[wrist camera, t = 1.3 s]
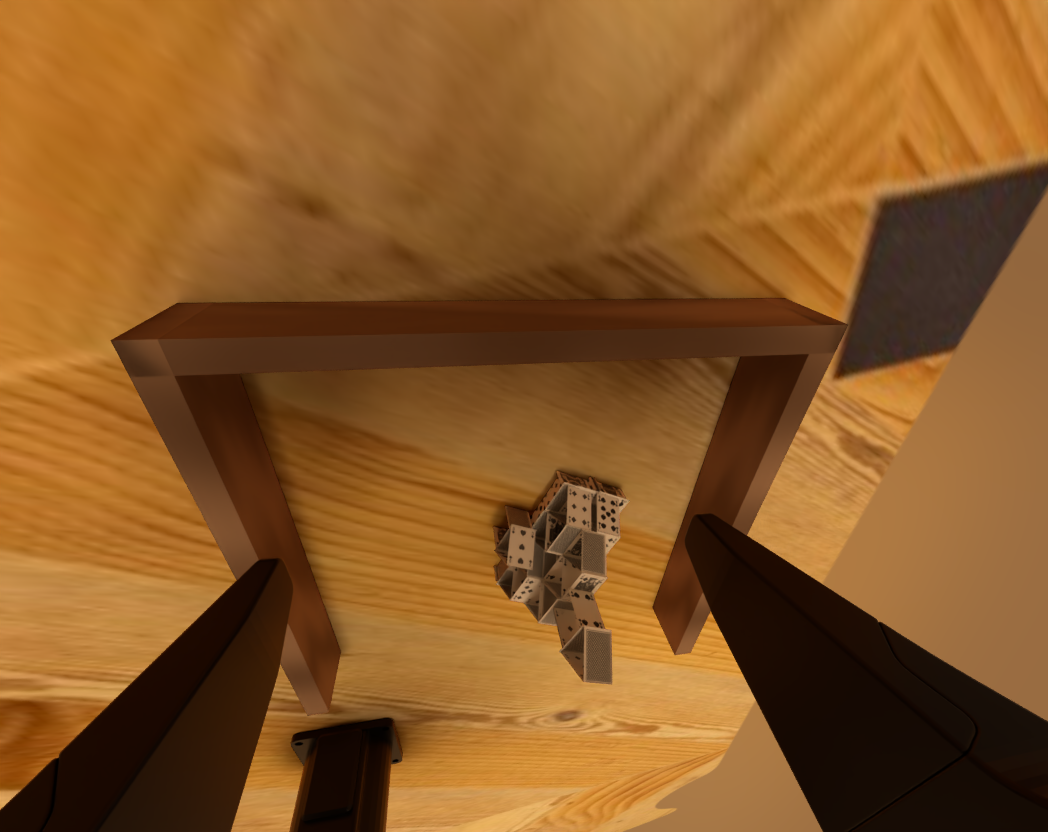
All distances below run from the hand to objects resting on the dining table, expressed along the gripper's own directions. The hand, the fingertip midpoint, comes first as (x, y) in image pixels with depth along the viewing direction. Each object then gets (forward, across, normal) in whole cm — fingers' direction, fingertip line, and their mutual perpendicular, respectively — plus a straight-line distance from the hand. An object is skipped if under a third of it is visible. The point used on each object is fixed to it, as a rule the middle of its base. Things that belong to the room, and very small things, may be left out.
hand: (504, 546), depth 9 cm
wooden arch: (+8, -2, +7) cm, 11 cm away
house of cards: (+8, -2, +7) cm, 11 cm away
